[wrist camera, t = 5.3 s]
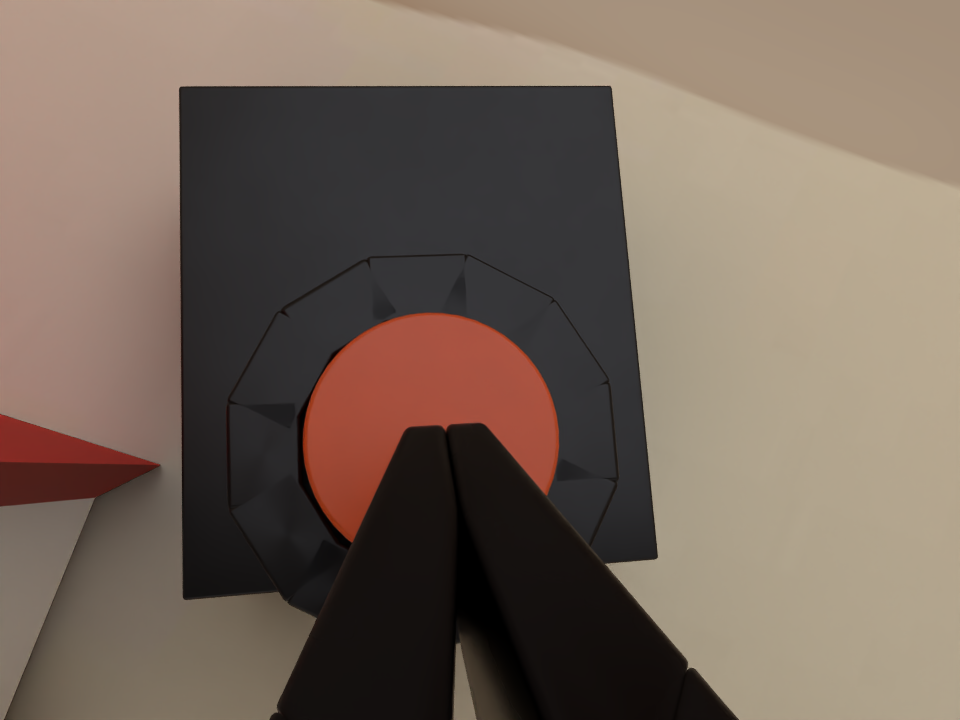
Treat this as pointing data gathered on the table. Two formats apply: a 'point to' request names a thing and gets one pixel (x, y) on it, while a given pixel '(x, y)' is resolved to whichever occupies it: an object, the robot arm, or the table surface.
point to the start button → (420, 405)
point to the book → (43, 527)
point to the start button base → (393, 296)
